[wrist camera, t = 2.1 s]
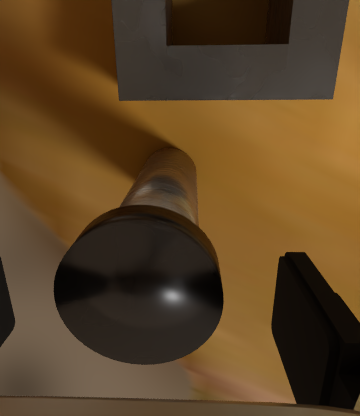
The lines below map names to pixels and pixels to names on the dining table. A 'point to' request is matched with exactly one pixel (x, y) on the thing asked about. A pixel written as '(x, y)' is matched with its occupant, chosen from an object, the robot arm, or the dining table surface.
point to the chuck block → (229, 55)
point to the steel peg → (144, 271)
